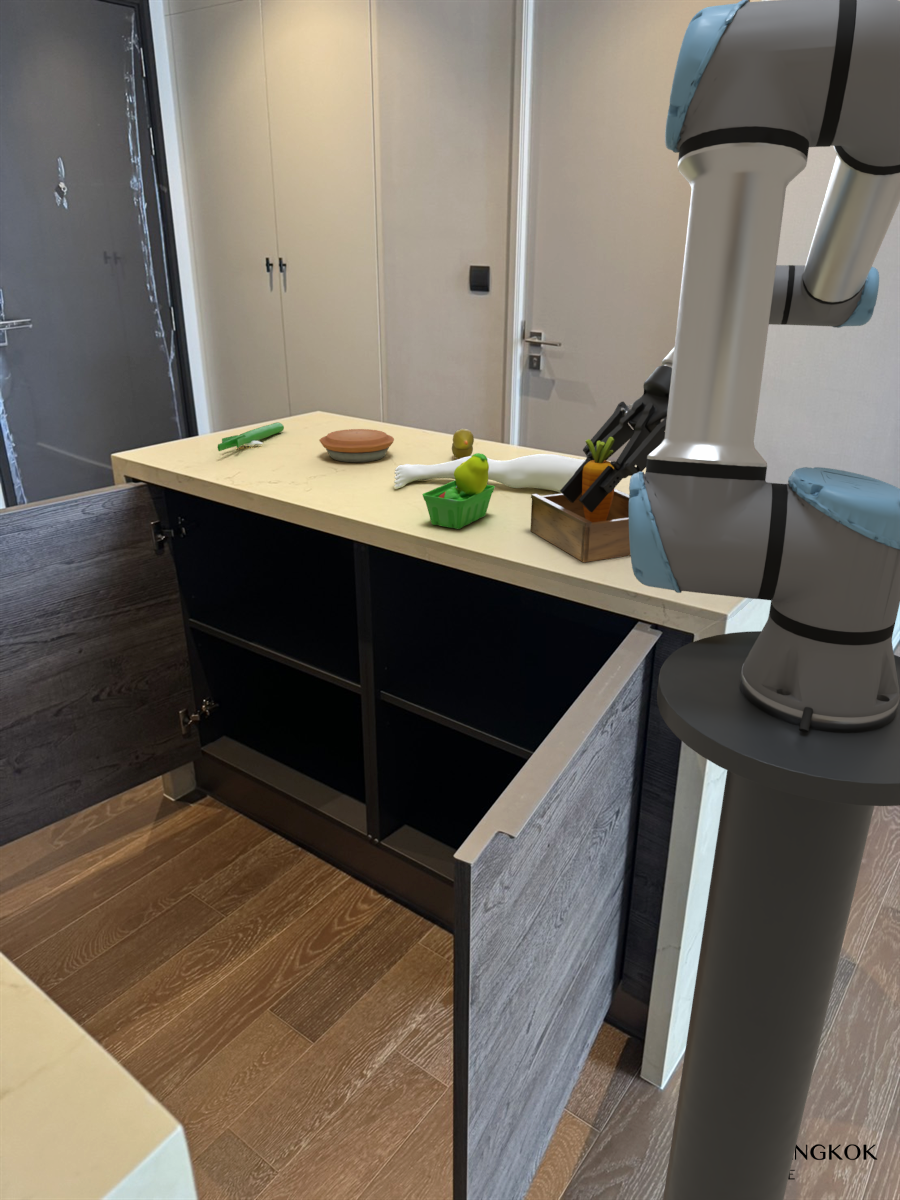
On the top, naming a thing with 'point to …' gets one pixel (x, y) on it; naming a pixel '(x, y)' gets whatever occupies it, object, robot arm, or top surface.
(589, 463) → the carrot
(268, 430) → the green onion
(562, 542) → the wooden crate
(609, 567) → the top surface
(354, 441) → the pie
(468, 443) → the bird figurine
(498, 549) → the top surface
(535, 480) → the leg
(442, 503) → the fruit basket
